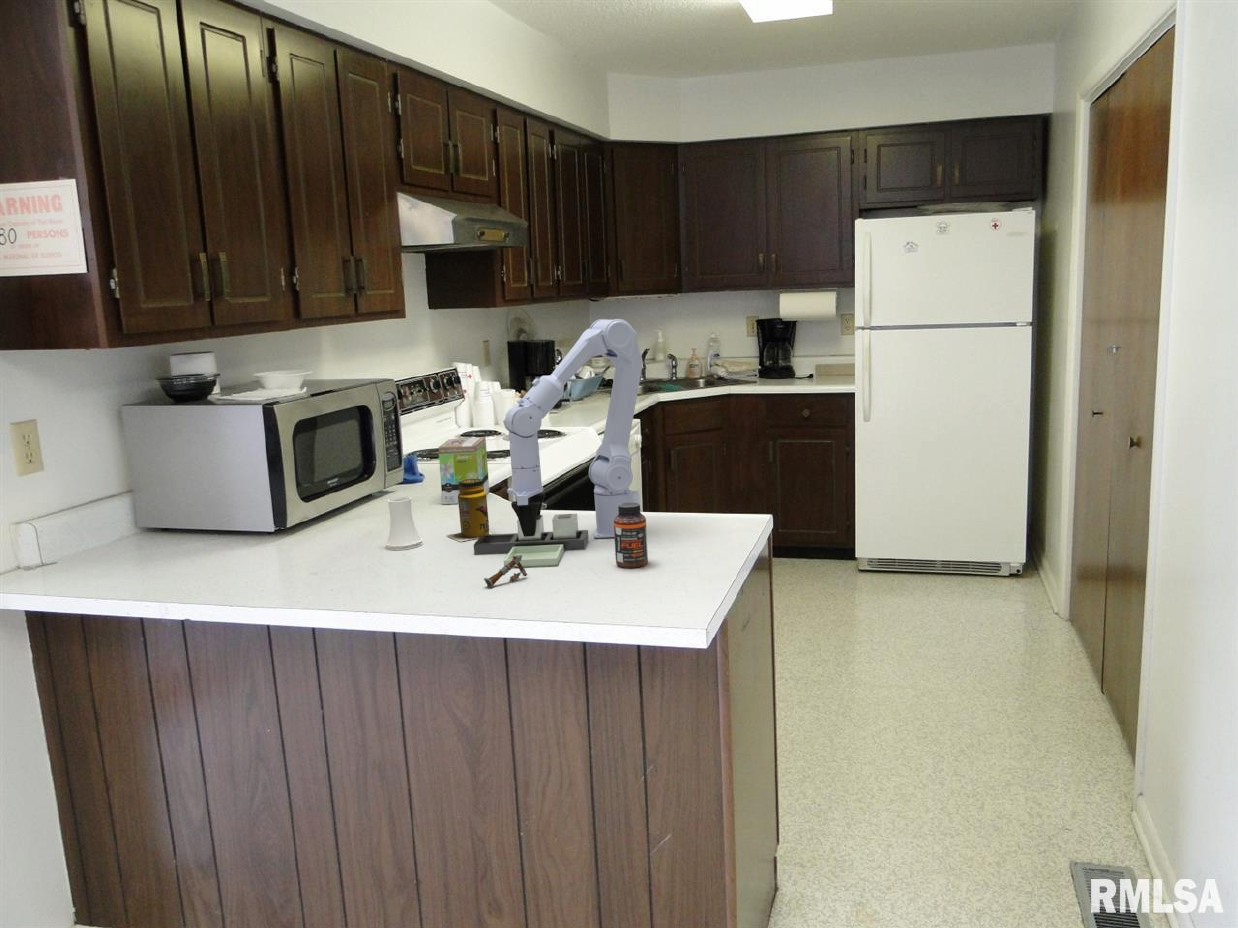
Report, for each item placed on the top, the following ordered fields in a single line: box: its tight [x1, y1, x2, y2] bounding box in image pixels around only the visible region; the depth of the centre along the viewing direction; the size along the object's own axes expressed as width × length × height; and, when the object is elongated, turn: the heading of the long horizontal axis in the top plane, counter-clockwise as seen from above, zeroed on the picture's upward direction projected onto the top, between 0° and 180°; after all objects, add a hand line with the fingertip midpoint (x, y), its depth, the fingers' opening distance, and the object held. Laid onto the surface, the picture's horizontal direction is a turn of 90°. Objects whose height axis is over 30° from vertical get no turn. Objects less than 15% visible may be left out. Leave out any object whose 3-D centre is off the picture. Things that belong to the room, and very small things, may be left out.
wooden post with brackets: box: [483, 555, 528, 589], centre depth 175 cm, size 2×8×4 cm, turn 128°
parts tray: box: [503, 545, 565, 569], centre depth 189 cm, size 10×10×2 cm
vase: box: [384, 496, 423, 551], centre depth 206 cm, size 8×8×10 cm
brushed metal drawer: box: [551, 513, 579, 540], centre depth 198 cm, size 4×4×6 cm
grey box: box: [516, 514, 545, 542], centre depth 199 cm, size 4×4×6 cm
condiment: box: [446, 479, 496, 543], centre depth 211 cm, size 7×8×12 cm
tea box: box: [438, 436, 490, 505], centre depth 252 cm, size 15×10×15 cm
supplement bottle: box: [614, 502, 649, 569], centre depth 181 cm, size 6×6×11 cm
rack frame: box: [473, 529, 589, 555], centre depth 199 cm, size 22×8×2 cm, turn 86°
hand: (531, 532), depth 199 cm, fingers closed on grey box, 4 cm apart
